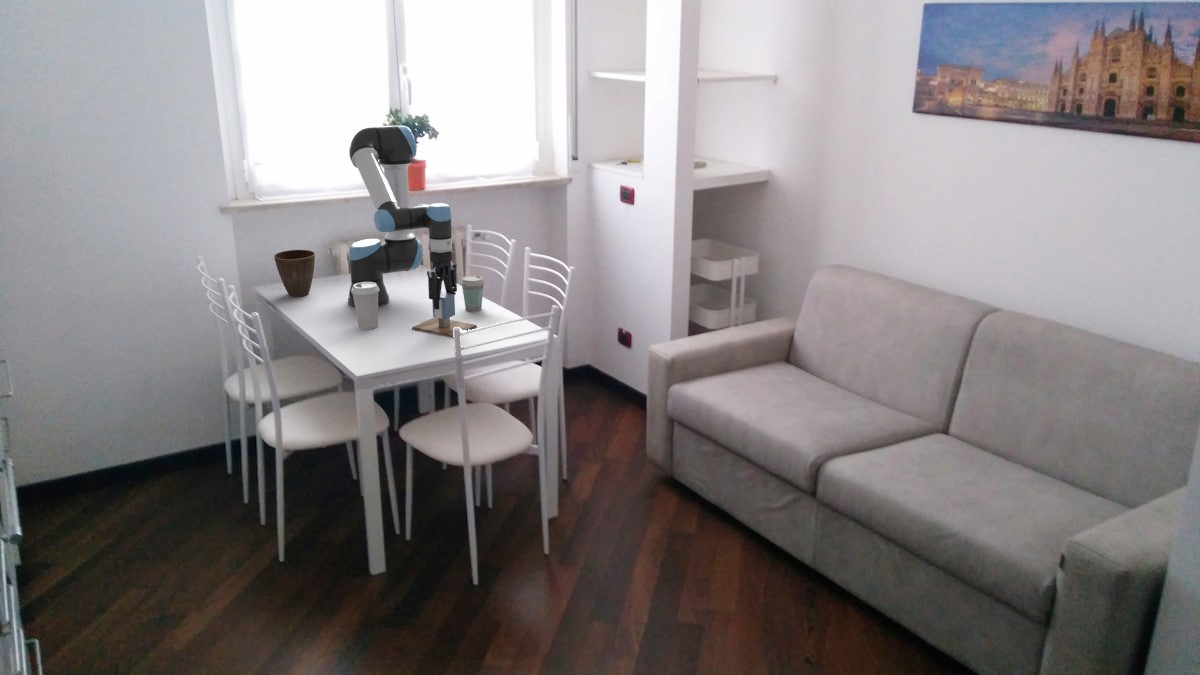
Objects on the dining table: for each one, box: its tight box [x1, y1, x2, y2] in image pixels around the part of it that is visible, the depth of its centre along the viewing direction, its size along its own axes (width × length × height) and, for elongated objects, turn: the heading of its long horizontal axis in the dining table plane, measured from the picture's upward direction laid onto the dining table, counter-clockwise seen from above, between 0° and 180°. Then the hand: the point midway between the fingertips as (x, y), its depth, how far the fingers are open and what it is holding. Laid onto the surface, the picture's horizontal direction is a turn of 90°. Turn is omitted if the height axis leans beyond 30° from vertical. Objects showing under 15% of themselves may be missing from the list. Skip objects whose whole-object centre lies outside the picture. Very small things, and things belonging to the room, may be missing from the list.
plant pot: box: [273, 249, 316, 298], centre depth 352 cm, size 15×15×16 cm
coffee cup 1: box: [351, 282, 380, 330], centre depth 318 cm, size 10×10×15 cm
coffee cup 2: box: [460, 275, 485, 312], centre depth 339 cm, size 8×9×12 cm
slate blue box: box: [431, 291, 456, 319], centre depth 317 cm, size 5×5×8 cm
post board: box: [411, 317, 478, 338], centre depth 319 cm, size 18×13×7 cm
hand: (444, 315), depth 318 cm, fingers closed on slate blue box, 5 cm apart
